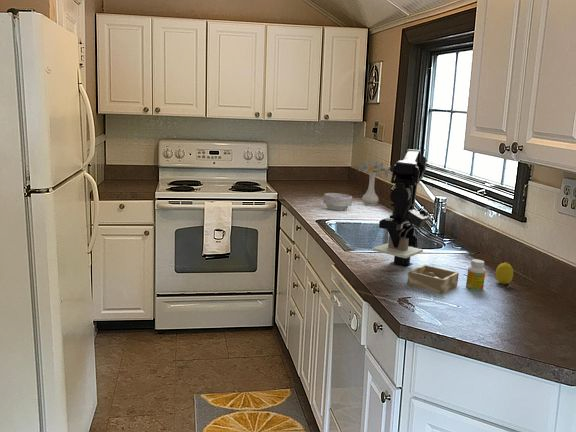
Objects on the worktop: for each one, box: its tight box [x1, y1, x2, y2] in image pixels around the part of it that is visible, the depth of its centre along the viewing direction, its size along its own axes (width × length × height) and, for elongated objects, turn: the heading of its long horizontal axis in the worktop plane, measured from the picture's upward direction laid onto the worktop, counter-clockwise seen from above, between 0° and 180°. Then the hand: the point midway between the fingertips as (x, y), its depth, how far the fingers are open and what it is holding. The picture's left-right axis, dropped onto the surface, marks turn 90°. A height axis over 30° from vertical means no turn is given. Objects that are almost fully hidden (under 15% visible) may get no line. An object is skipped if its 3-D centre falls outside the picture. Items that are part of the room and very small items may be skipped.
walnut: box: [426, 272, 436, 277], centre depth 195 cm, size 3×3×3 cm
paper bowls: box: [323, 192, 353, 212], centre depth 317 cm, size 15×15×8 cm
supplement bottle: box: [465, 258, 486, 292], centre depth 191 cm, size 5×5×10 cm
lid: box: [371, 235, 424, 258], centre depth 197 cm, size 12×12×5 cm
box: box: [406, 264, 460, 295], centre depth 192 cm, size 12×12×5 cm
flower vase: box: [357, 160, 392, 207], centre depth 335 cm, size 13×18×25 cm
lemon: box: [495, 261, 514, 285], centre depth 199 cm, size 6×6×8 cm
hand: (397, 246), depth 197 cm, fingers closed on lid, 2 cm apart
